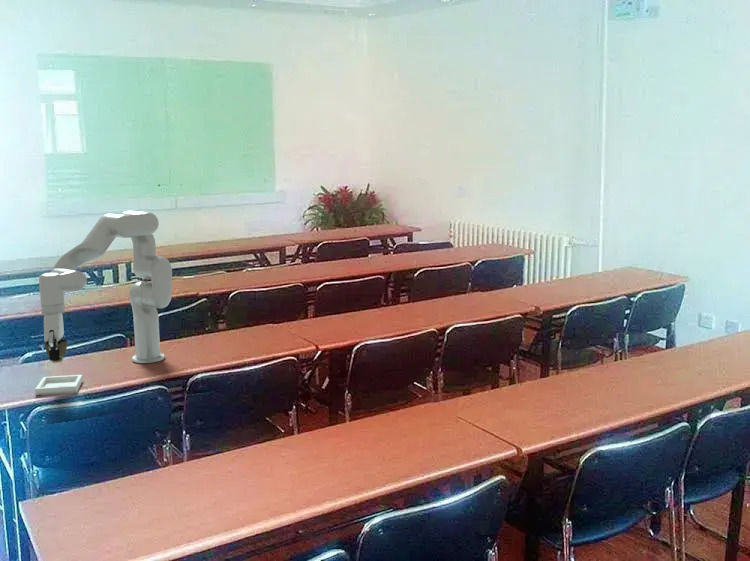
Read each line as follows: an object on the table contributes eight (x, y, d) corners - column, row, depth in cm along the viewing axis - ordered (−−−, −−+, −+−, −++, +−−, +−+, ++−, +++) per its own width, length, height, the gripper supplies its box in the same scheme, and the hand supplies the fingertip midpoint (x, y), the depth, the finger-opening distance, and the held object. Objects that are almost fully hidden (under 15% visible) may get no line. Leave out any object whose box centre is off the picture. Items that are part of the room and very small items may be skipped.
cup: (41, 362, 266) (39, 341, 265) (58, 357, 272) (56, 336, 271) (55, 366, 263) (54, 343, 261) (73, 360, 269) (71, 338, 268)
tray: (44, 383, 275) (43, 376, 274) (82, 381, 277) (82, 374, 277) (35, 395, 262) (34, 389, 261) (76, 393, 265) (75, 386, 264)
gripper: (46, 303, 272) (50, 351, 275) (35, 314, 255) (40, 365, 258) (69, 302, 273) (72, 350, 276) (59, 313, 256) (63, 363, 260)
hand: (56, 357), depth 267 cm, fingers closed on cup, 6 cm apart
